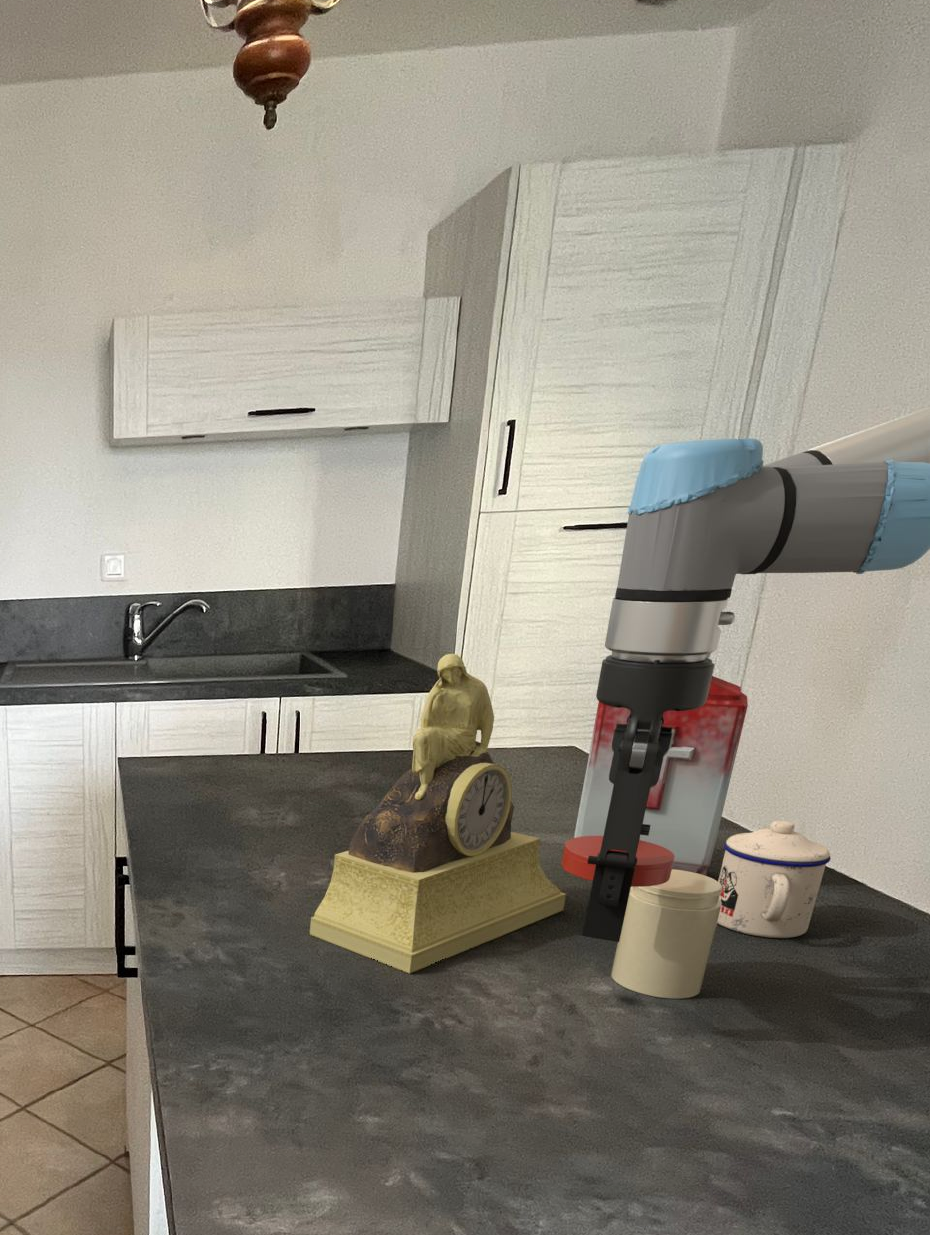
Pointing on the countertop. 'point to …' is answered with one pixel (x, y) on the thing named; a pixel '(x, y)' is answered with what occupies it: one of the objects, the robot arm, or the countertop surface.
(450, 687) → the decorative clock
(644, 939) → the jar
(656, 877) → the lid
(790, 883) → the teacup with lid
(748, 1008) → the countertop surface
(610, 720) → the bottle
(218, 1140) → the countertop surface
